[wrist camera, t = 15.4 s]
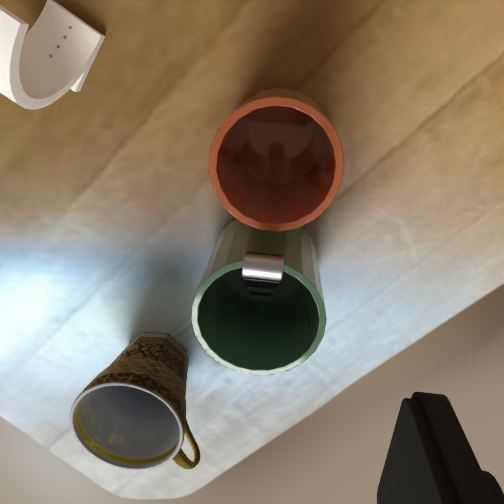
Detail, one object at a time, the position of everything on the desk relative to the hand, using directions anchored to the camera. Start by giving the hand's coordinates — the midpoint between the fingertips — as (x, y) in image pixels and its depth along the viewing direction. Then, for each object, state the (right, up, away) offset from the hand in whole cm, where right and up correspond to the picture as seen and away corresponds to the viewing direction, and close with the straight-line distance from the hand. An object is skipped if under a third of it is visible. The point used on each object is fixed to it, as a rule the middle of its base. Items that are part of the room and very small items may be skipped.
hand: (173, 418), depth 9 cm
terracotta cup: (+4, +13, +27) cm, 31 cm away
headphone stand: (-14, +20, +26) cm, 35 cm away
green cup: (+3, +3, +32) cm, 32 cm away
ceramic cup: (-7, -9, +38) cm, 40 cm away
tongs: (+3, +4, +31) cm, 31 cm away
